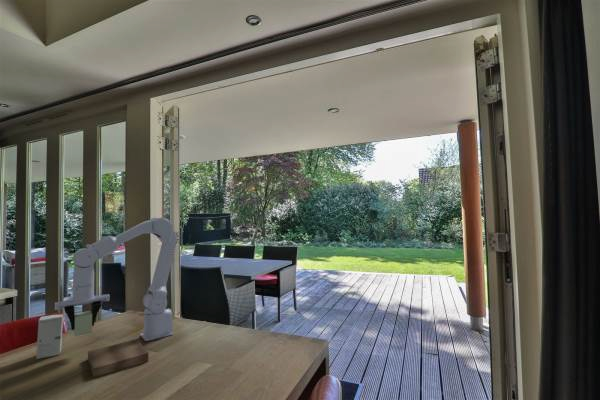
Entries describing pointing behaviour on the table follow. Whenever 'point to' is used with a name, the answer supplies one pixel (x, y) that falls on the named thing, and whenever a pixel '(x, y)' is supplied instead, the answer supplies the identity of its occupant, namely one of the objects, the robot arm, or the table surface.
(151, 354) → the table surface
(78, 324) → the sage block
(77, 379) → the table surface
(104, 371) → the walnut base
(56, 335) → the skincare box
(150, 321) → the robot arm
